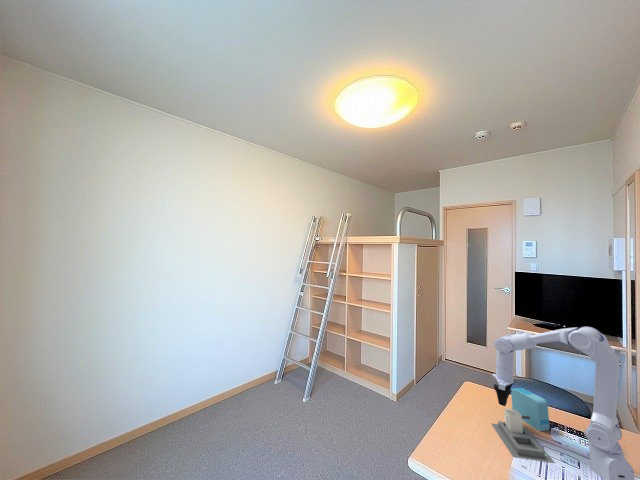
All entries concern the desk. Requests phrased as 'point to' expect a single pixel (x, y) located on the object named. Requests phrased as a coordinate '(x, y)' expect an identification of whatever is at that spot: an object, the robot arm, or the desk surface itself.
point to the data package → (531, 408)
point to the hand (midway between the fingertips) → (503, 400)
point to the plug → (514, 421)
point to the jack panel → (521, 444)
